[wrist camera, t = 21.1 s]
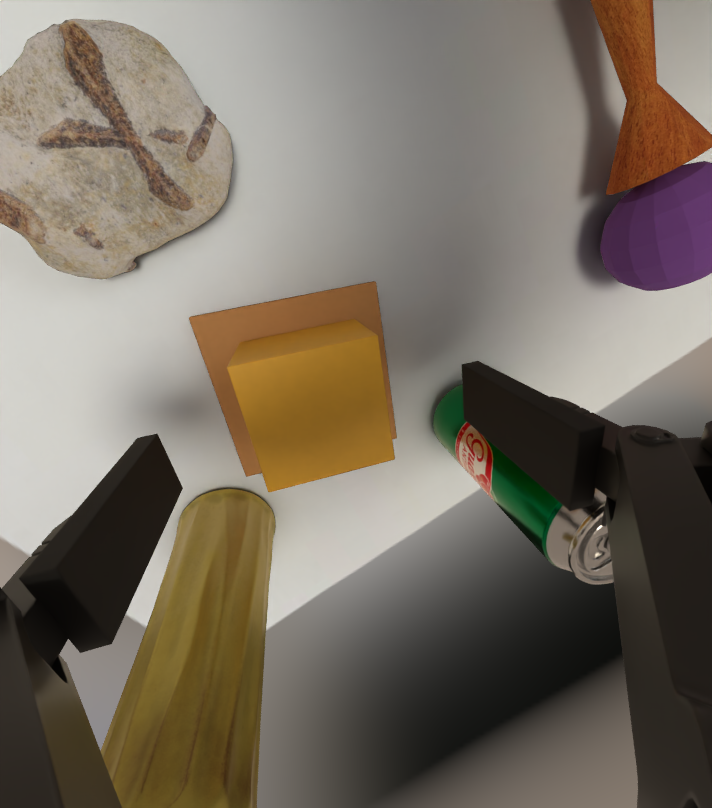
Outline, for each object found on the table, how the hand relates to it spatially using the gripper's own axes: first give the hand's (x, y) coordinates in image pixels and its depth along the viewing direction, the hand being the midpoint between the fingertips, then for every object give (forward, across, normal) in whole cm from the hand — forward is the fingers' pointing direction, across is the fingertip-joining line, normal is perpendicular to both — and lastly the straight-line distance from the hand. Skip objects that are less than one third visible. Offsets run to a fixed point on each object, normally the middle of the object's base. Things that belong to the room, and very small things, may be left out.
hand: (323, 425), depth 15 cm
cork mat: (+6, 0, 0) cm, 6 cm away
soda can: (+7, +10, -5) cm, 13 cm away
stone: (+6, -6, +12) cm, 15 cm away
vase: (+6, -8, -9) cm, 13 cm away
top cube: (+6, 0, 0) cm, 6 cm away
